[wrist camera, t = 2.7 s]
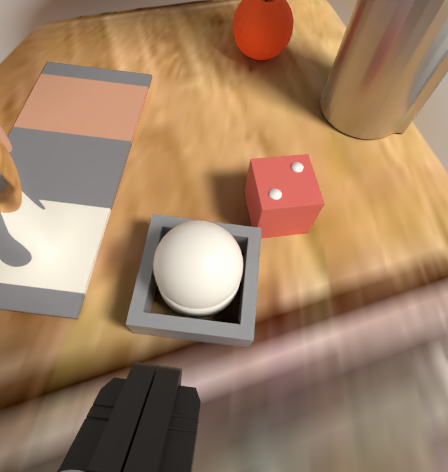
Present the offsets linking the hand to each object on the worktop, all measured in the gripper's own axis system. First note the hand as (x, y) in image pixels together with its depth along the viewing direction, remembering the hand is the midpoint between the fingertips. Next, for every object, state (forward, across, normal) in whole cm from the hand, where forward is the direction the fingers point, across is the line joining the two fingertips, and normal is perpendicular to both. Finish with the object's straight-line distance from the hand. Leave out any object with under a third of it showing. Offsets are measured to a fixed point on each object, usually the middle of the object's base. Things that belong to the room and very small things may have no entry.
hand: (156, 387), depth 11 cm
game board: (+24, +15, -2) cm, 29 cm away
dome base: (+17, 0, +5) cm, 18 cm away
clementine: (+39, -3, -17) cm, 43 cm away
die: (+23, -6, -1) cm, 24 cm away
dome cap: (+16, 0, +4) cm, 17 cm away
